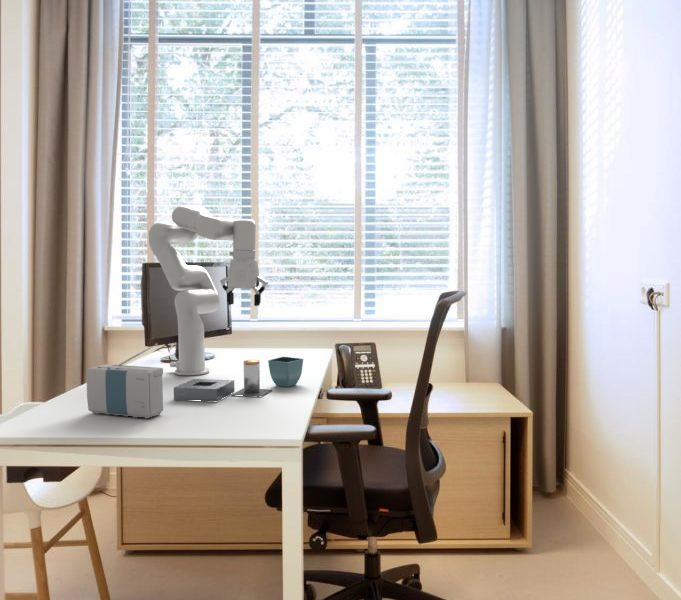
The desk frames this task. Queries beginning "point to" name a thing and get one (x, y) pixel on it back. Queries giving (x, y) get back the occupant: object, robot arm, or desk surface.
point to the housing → (204, 390)
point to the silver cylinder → (251, 376)
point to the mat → (261, 393)
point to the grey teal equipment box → (125, 389)
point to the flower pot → (285, 370)
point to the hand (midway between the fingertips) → (243, 304)
